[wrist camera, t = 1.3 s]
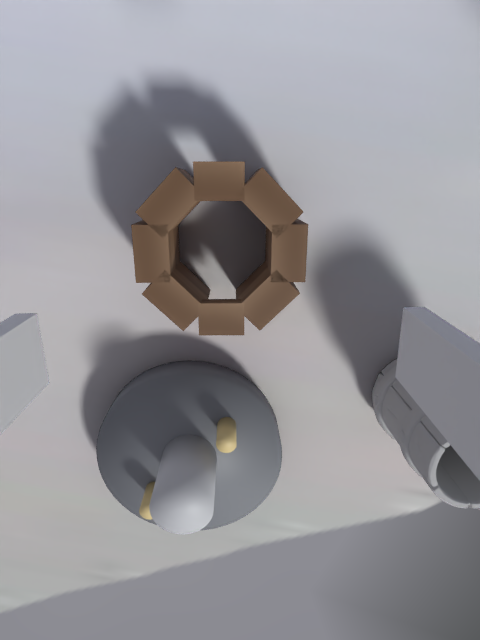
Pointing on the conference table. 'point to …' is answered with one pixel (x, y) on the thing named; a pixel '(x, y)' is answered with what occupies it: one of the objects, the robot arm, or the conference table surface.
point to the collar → (182, 285)
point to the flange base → (195, 415)
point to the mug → (423, 443)
